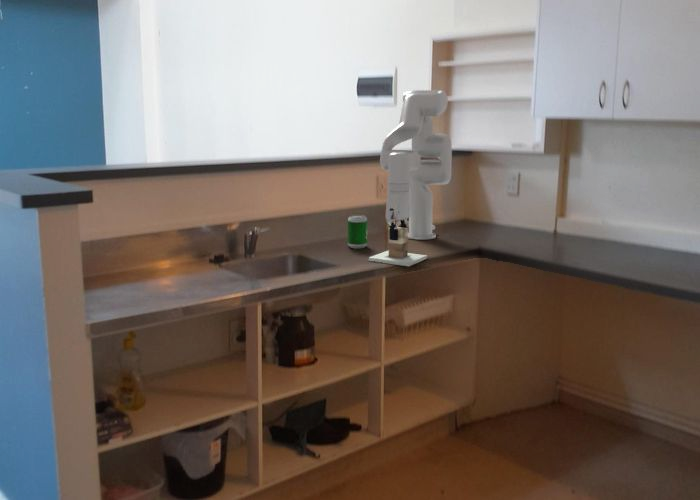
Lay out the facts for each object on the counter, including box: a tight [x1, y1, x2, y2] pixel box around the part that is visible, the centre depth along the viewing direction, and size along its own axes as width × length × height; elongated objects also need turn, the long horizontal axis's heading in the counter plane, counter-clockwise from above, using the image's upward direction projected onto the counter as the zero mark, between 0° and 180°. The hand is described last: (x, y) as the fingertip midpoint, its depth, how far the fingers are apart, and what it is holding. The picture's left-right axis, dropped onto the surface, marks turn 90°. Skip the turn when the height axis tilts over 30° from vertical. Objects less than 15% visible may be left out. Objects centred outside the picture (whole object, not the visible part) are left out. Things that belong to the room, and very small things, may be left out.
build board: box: [368, 249, 428, 267], centre depth 254 cm, size 14×16×1 cm
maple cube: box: [388, 226, 409, 244], centre depth 252 cm, size 5×5×5 cm
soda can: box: [347, 214, 368, 249], centre depth 275 cm, size 8×8×12 cm
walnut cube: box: [388, 241, 409, 258], centre depth 253 cm, size 5×5×5 cm
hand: (398, 237), depth 253 cm, fingers open, 6 cm apart
